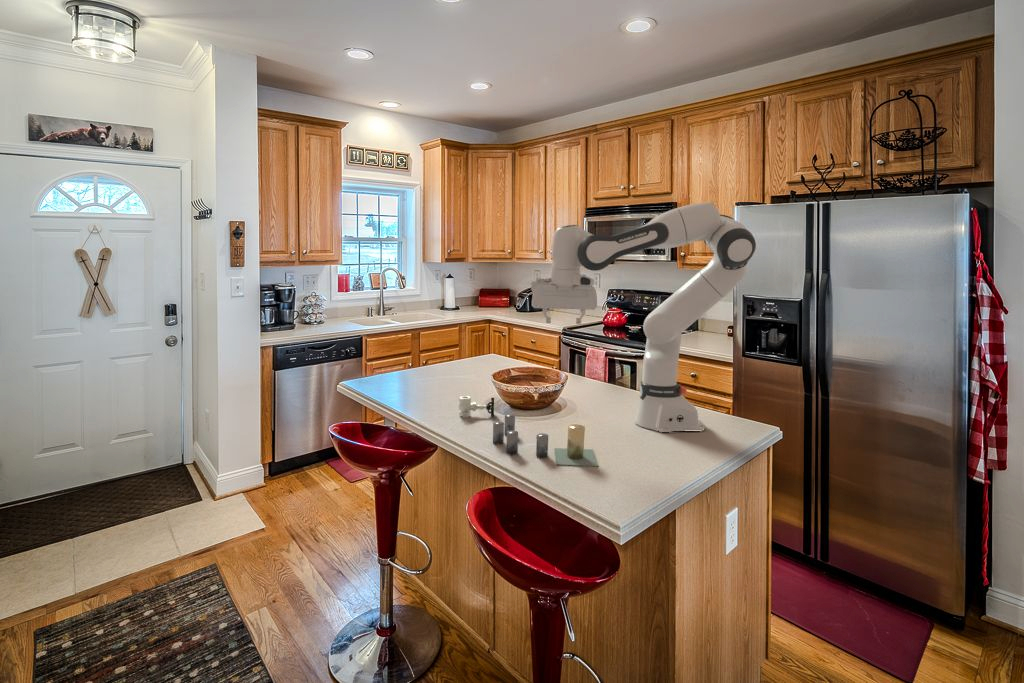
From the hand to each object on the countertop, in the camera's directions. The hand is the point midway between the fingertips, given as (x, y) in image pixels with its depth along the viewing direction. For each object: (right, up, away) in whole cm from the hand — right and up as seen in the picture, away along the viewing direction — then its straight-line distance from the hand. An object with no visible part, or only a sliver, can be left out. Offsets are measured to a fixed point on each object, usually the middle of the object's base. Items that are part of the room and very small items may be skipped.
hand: (563, 323), depth 167 cm
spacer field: (-15, -36, -12) cm, 41 cm away
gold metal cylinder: (+1, -37, -19) cm, 42 cm away
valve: (-28, -32, +17) cm, 46 cm away
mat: (+1, -38, -19) cm, 42 cm away
